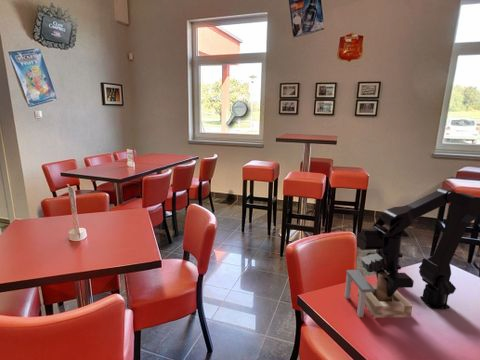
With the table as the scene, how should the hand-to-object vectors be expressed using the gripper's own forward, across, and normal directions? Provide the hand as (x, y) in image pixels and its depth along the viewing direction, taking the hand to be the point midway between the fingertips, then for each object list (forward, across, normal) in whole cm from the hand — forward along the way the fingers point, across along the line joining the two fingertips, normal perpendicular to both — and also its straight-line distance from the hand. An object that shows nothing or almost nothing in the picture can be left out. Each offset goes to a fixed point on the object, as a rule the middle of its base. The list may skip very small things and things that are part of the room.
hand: (384, 291), depth 97 cm
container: (+5, -15, +11) cm, 19 cm away
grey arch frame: (+5, 0, -9) cm, 10 cm away
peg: (+3, 0, 0) cm, 3 cm away
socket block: (+5, 0, 0) cm, 5 cm away
